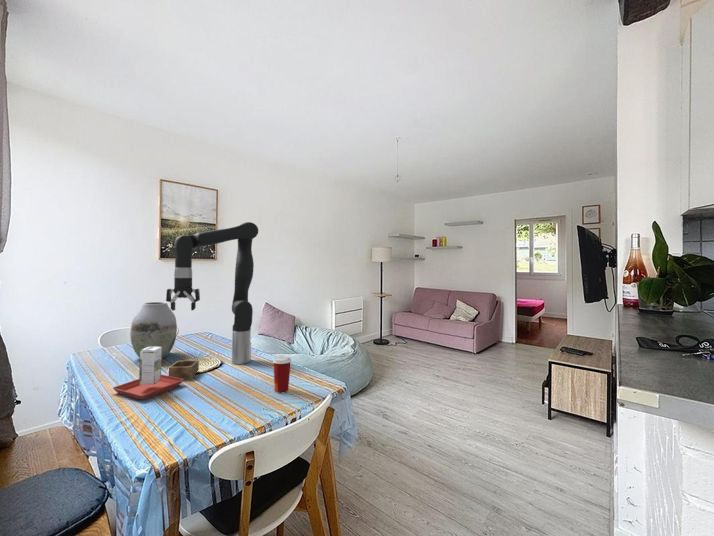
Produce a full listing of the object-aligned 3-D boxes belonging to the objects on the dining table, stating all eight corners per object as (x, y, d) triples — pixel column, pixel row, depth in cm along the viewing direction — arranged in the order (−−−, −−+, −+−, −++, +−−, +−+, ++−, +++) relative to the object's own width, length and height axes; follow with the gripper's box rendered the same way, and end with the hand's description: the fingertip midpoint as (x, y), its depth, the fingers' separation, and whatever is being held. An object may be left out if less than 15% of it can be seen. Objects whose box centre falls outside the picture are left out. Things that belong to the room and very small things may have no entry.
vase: (184, 356, 172) (185, 302, 171) (141, 366, 154) (142, 306, 153) (164, 349, 183) (165, 299, 183) (122, 358, 165) (123, 303, 165)
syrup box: (146, 380, 130) (147, 346, 130) (161, 380, 131) (161, 346, 131) (138, 385, 124) (139, 350, 124) (154, 385, 125) (154, 349, 125)
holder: (198, 371, 149) (198, 360, 149) (191, 378, 140) (191, 366, 140) (177, 372, 147) (177, 360, 147) (168, 379, 138) (168, 367, 138)
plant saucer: (111, 395, 122) (111, 387, 122) (155, 379, 139) (155, 372, 139) (141, 404, 116) (141, 395, 116) (184, 386, 132) (184, 379, 132)
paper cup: (294, 388, 132) (294, 356, 132) (284, 395, 125) (285, 361, 125) (278, 385, 135) (279, 354, 134) (268, 392, 127) (268, 359, 127)
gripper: (201, 276, 153) (201, 308, 153) (170, 276, 150) (170, 309, 151) (196, 277, 145) (196, 311, 146) (163, 277, 143) (163, 311, 143)
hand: (183, 310), depth 148 cm, fingers open, 8 cm apart
